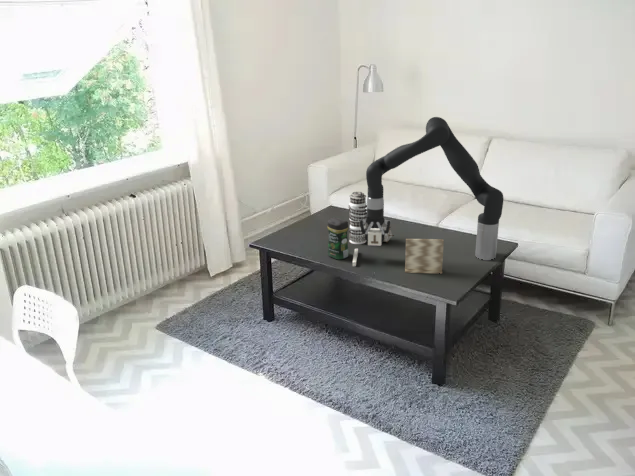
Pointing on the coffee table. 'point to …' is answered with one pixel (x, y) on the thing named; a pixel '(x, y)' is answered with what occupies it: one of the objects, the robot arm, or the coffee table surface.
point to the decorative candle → (357, 217)
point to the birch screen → (424, 255)
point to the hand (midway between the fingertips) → (374, 241)
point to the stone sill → (355, 257)
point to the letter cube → (374, 237)
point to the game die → (387, 235)
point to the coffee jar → (337, 238)
